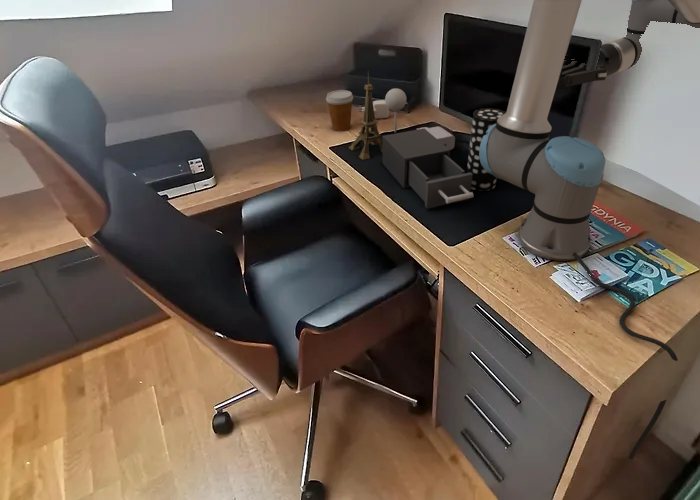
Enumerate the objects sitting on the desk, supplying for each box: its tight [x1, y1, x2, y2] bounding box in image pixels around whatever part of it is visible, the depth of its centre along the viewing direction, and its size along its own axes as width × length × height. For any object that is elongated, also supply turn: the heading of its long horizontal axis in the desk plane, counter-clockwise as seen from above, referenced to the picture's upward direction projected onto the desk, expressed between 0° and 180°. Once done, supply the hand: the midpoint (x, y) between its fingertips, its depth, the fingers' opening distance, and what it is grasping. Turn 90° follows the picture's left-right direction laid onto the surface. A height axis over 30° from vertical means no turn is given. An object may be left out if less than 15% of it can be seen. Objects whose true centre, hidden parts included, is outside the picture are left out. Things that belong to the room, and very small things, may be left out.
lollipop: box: [384, 87, 407, 134], centre depth 156 cm, size 7×7×15 cm
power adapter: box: [358, 99, 390, 120], centre depth 171 cm, size 11×5×6 cm, turn 94°
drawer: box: [407, 154, 474, 209], centre depth 122 cm, size 21×12×7 cm, turn 18°
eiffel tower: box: [348, 71, 383, 161], centre depth 143 cm, size 11×11×25 cm
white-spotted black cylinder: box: [466, 107, 507, 192], centre depth 123 cm, size 8×8×20 cm
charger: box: [416, 126, 456, 151], centre depth 151 cm, size 5×9×15 cm
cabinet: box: [382, 128, 451, 189], centre depth 134 cm, size 17×14×9 cm
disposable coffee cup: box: [325, 89, 354, 132], centre depth 163 cm, size 10×10×12 cm
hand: (530, 86), depth 107 cm, fingers closed
